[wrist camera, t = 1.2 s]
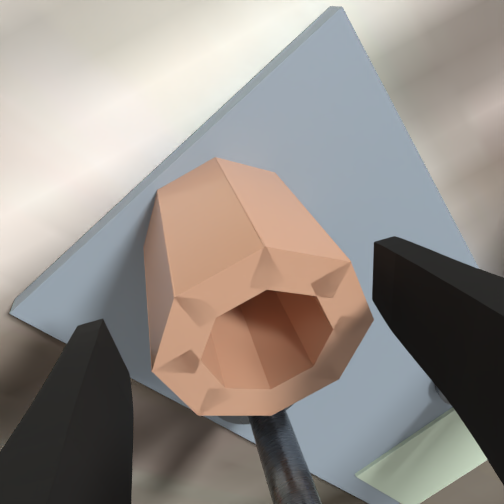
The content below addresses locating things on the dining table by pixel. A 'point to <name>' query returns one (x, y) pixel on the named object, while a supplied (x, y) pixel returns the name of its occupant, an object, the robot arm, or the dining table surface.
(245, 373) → the octagonal hollow tube
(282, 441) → the posts
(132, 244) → the board
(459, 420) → the pad
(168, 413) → the dining table surface
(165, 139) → the dining table surface
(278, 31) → the dining table surface
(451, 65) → the dining table surface
